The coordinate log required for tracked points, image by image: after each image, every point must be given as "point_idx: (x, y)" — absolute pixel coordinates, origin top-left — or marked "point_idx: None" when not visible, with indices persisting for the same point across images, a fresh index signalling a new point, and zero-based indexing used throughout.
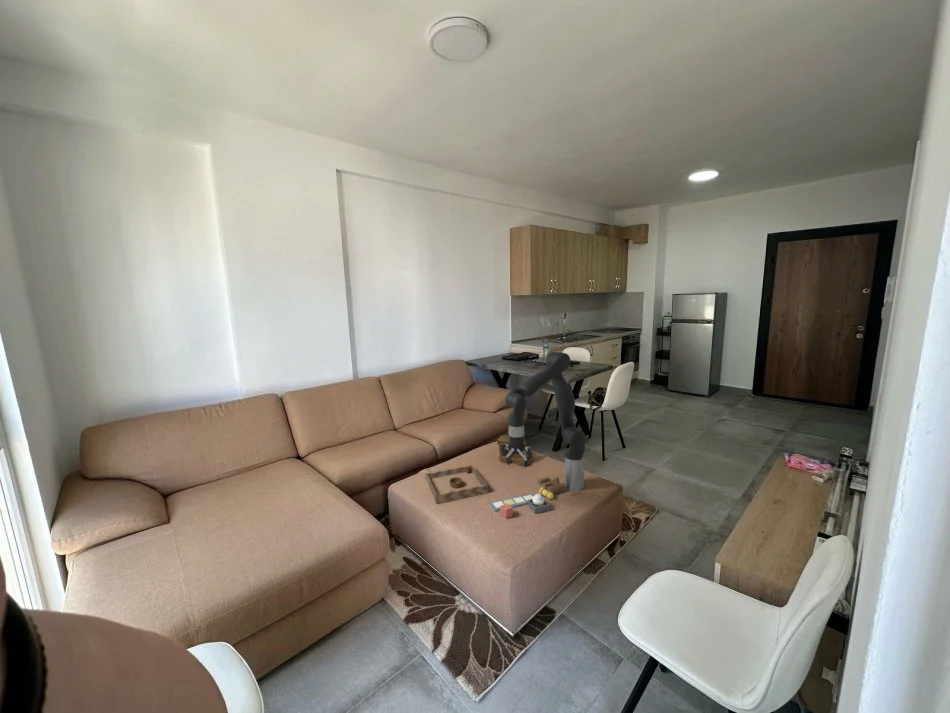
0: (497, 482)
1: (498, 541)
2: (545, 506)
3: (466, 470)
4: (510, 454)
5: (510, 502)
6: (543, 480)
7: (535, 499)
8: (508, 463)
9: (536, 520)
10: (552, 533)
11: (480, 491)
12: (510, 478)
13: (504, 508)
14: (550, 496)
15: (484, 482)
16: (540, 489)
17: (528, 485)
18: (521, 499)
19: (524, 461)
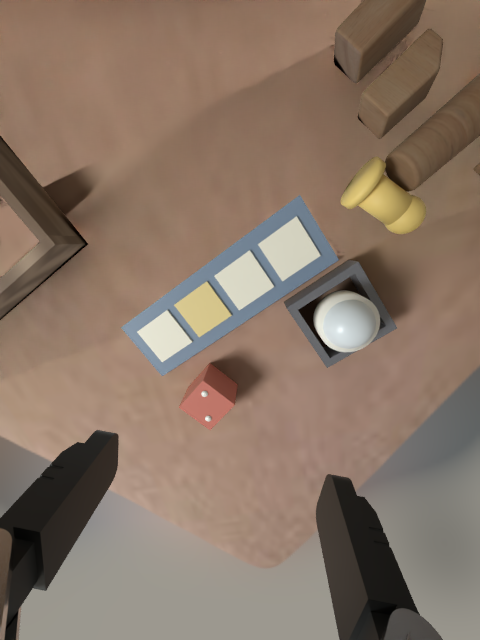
0: (86, 95)
1: (220, 508)
2: (374, 338)
3: None
4: (7, 605)
5: (209, 312)
6: (379, 40)
7: (335, 344)
8: (98, 494)
9: (328, 397)
10: (384, 454)
11: (46, 269)
12: (143, 6)
13: (201, 419)
14: (405, 232)
15: (22, 216)
16: (357, 197)
17: (269, 83)
18: (254, 275)
19: (340, 626)
